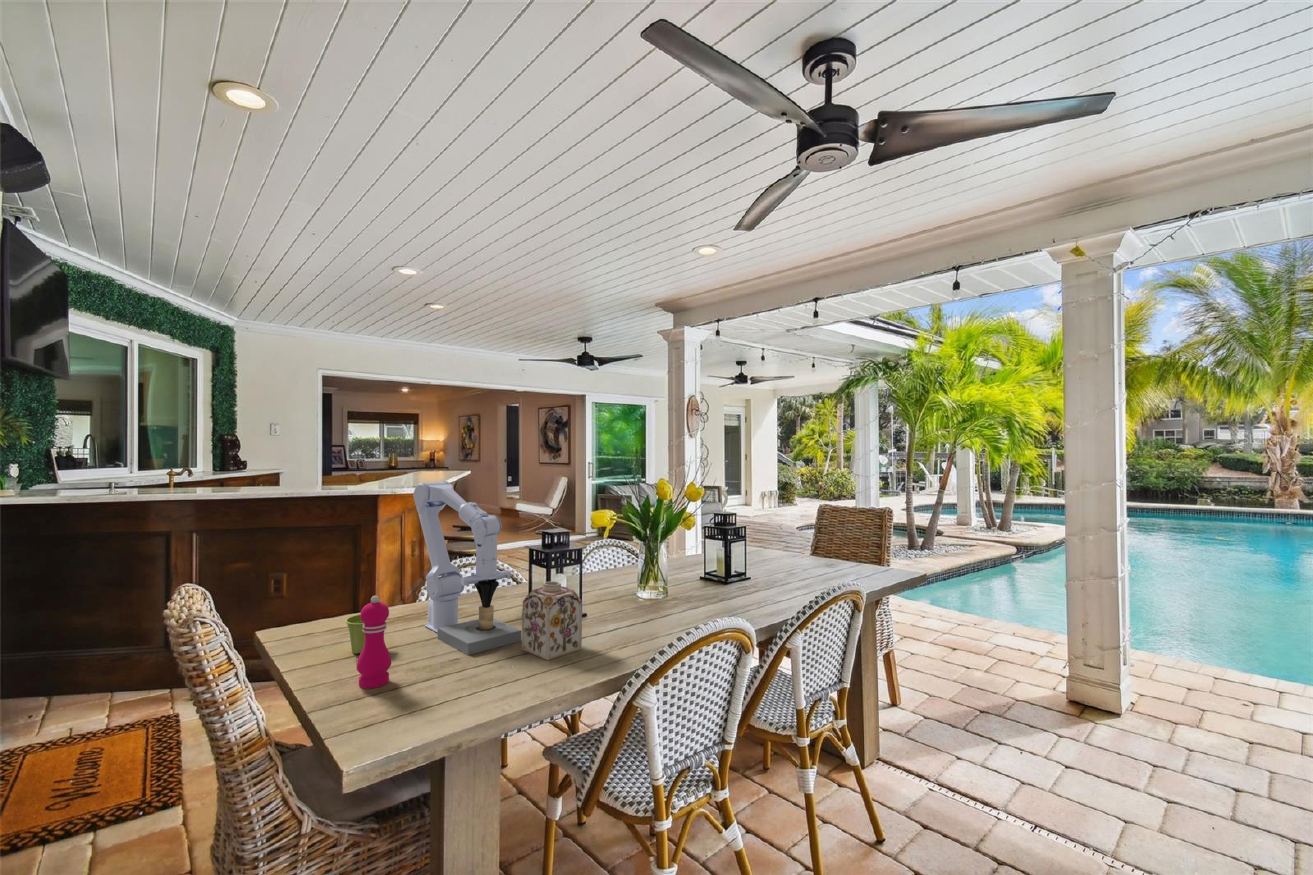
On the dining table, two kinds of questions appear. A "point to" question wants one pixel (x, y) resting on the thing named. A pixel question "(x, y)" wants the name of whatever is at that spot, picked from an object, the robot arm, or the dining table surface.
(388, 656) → the pepper mill
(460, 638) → the grey peg hole board
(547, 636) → the decorative jar
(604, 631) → the dining table surface
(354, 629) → the plant pot
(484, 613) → the oak peg
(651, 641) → the dining table surface
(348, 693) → the dining table surface
